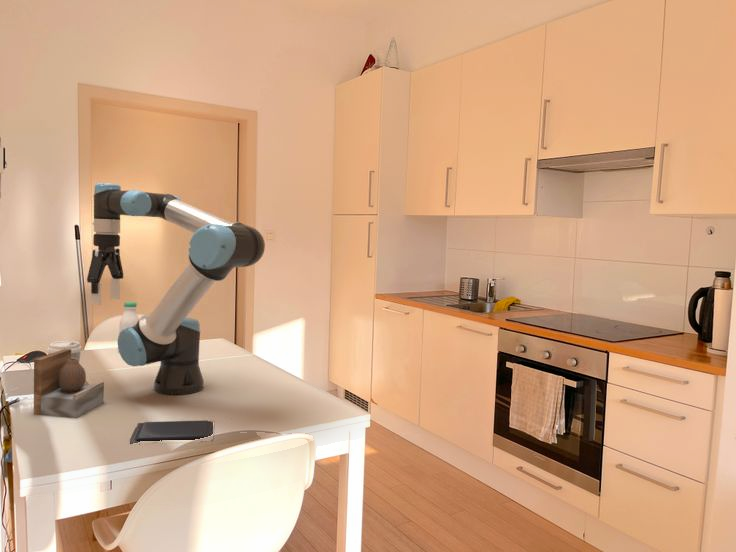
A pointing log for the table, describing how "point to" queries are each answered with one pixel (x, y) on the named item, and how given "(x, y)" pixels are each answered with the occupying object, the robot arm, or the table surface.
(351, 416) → the table surface
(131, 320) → the milk bottle
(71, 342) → the coffee cup
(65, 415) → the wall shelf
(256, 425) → the table surface
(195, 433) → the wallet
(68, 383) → the vase
